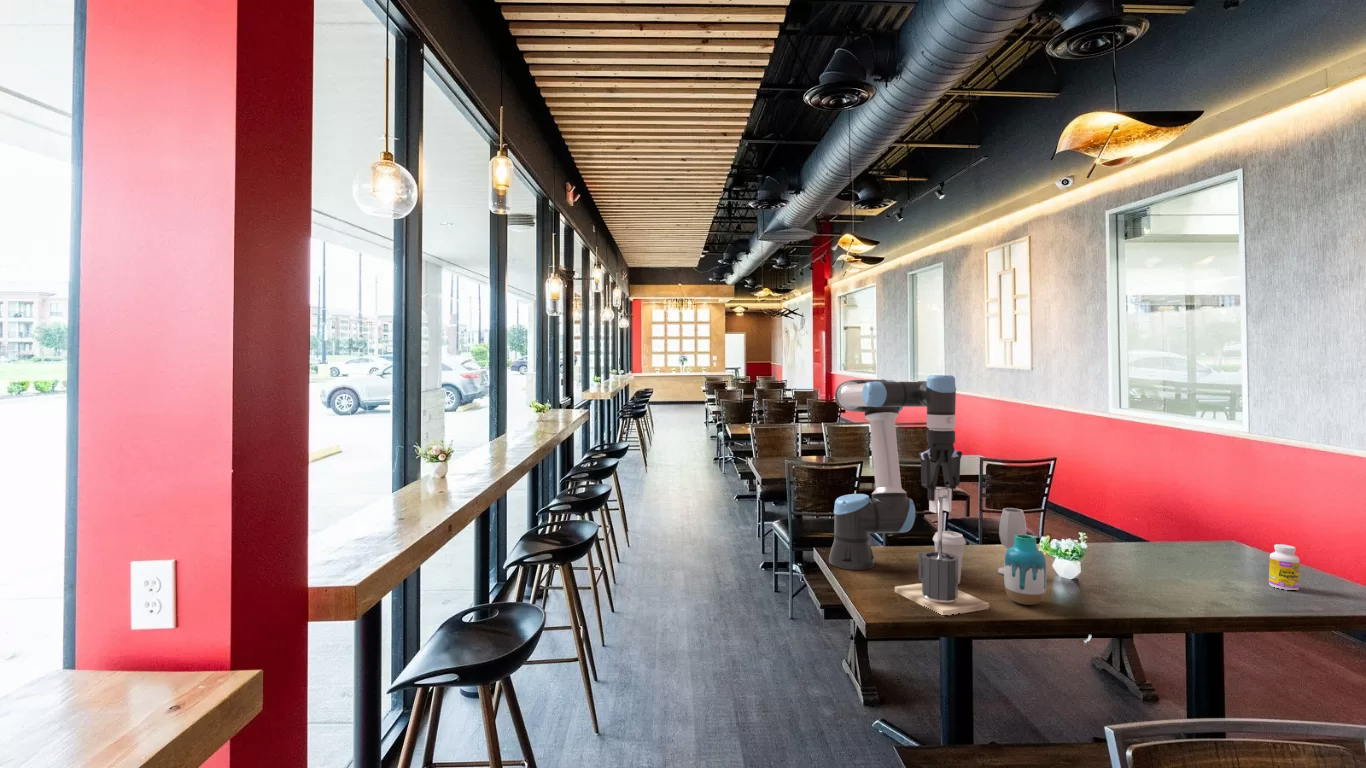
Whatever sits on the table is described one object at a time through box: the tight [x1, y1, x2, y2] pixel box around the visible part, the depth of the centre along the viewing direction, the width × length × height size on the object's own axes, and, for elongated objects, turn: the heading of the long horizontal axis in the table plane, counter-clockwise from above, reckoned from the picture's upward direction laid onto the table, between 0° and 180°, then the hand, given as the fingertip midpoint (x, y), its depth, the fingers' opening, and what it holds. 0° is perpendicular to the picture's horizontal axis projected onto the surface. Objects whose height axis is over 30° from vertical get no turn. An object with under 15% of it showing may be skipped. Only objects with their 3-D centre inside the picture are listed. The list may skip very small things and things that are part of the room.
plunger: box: [930, 486, 951, 560], centre depth 179 cm, size 6×6×21 cm
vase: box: [1003, 533, 1047, 606], centre depth 179 cm, size 11×11×19 cm
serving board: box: [894, 582, 990, 616], centre depth 182 cm, size 20×16×2 cm
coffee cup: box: [932, 530, 966, 585], centre depth 198 cm, size 10×10×15 cm
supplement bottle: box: [1268, 543, 1300, 591], centre depth 192 cm, size 7×7×13 cm
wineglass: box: [997, 507, 1027, 576], centre depth 205 cm, size 9×9×21 cm
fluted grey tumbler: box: [918, 550, 959, 604], centre depth 181 cm, size 12×9×12 cm
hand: (940, 511), depth 179 cm, fingers closed on plunger, 4 cm apart
